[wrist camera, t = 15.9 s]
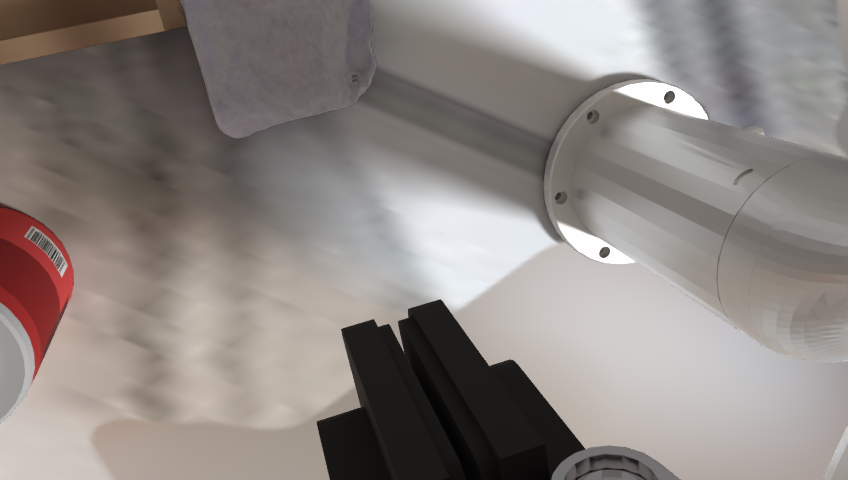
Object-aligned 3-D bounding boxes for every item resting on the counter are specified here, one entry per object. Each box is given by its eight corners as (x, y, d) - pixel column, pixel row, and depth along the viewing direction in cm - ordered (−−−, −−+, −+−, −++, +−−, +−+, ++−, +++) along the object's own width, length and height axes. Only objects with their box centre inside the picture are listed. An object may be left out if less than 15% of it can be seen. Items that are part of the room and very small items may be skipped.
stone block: (321, -121, 38) (136, -89, 35) (354, -134, 34) (149, -99, 31) (368, 91, 43) (211, 138, 40) (402, 101, 39) (230, 155, 36)
